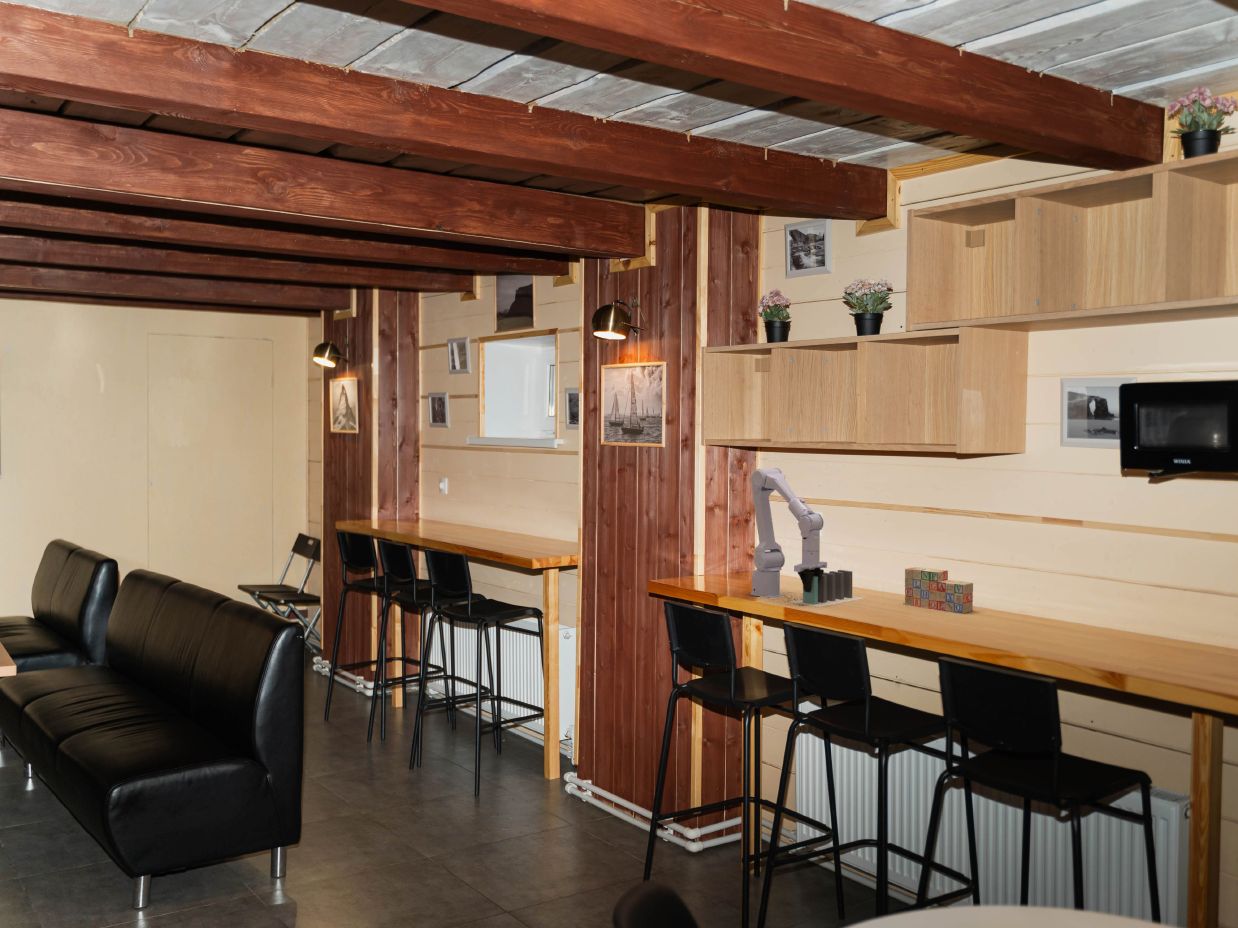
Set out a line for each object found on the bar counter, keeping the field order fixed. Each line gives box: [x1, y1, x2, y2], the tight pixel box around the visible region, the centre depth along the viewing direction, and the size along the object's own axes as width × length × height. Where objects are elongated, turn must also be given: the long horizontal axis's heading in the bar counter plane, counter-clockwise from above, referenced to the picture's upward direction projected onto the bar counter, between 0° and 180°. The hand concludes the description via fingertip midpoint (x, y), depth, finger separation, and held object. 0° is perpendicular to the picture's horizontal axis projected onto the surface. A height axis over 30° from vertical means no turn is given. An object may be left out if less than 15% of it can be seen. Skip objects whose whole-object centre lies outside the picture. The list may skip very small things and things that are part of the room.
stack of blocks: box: [904, 566, 974, 614], centre depth 343 cm, size 21×6×12 cm, turn 41°
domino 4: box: [828, 570, 844, 600], centre depth 359 cm, size 2×5×9 cm, turn 40°
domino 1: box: [802, 576, 818, 604], centre depth 351 cm, size 2×5×9 cm, turn 39°
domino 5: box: [837, 569, 853, 598], centre depth 362 cm, size 2×5×9 cm, turn 40°
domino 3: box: [823, 571, 836, 601], centre depth 357 cm, size 2×5×9 cm, turn 40°
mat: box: [790, 595, 865, 608], centre depth 357 cm, size 12×25×1 cm, turn 130°
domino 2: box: [818, 575, 827, 603], centre depth 354 cm, size 2×5×9 cm, turn 40°
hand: (810, 591), depth 351 cm, fingers open, 3 cm apart
